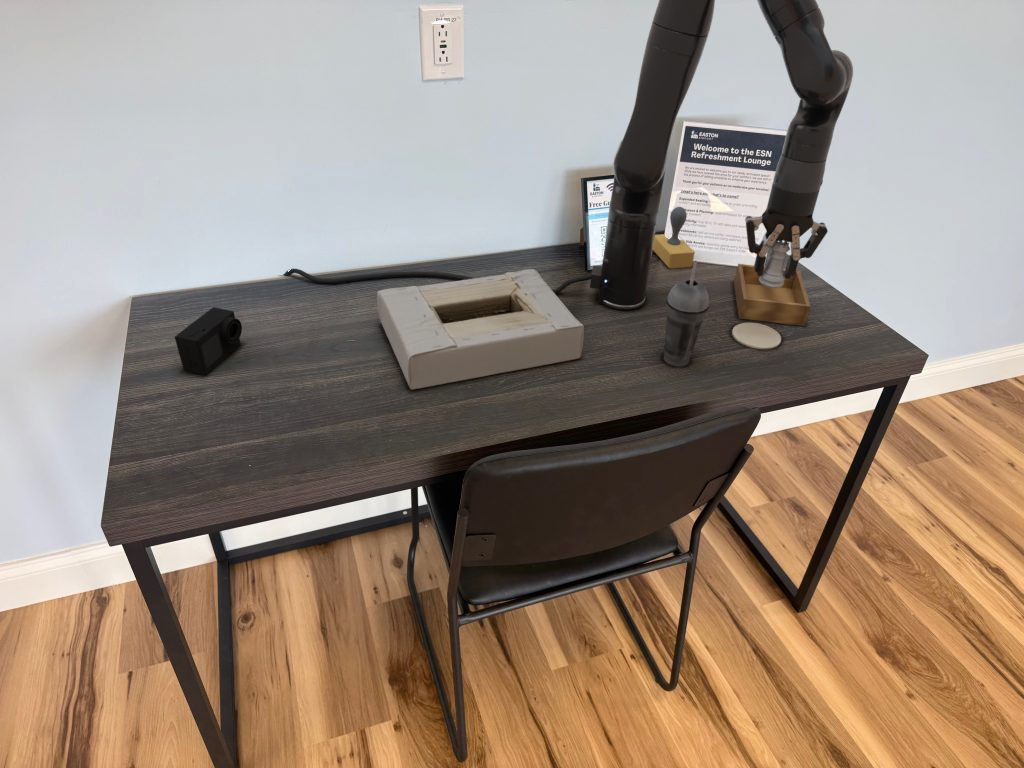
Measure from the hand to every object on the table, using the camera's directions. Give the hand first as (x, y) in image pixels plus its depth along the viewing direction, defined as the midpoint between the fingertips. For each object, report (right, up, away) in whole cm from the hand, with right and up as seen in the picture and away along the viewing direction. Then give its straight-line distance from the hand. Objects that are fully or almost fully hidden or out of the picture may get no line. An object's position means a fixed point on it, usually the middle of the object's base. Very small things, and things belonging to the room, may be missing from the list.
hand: (772, 274), depth 131 cm
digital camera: (-98, -15, -4) cm, 100 cm away
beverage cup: (-17, -15, 0) cm, 23 cm away
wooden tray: (+5, -3, +18) cm, 19 cm away
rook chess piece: (0, -2, +1) cm, 2 cm away
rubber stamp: (-11, +9, +34) cm, 37 cm away
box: (-53, -12, +3) cm, 54 cm away
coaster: (-1, -11, +7) cm, 13 cm away
